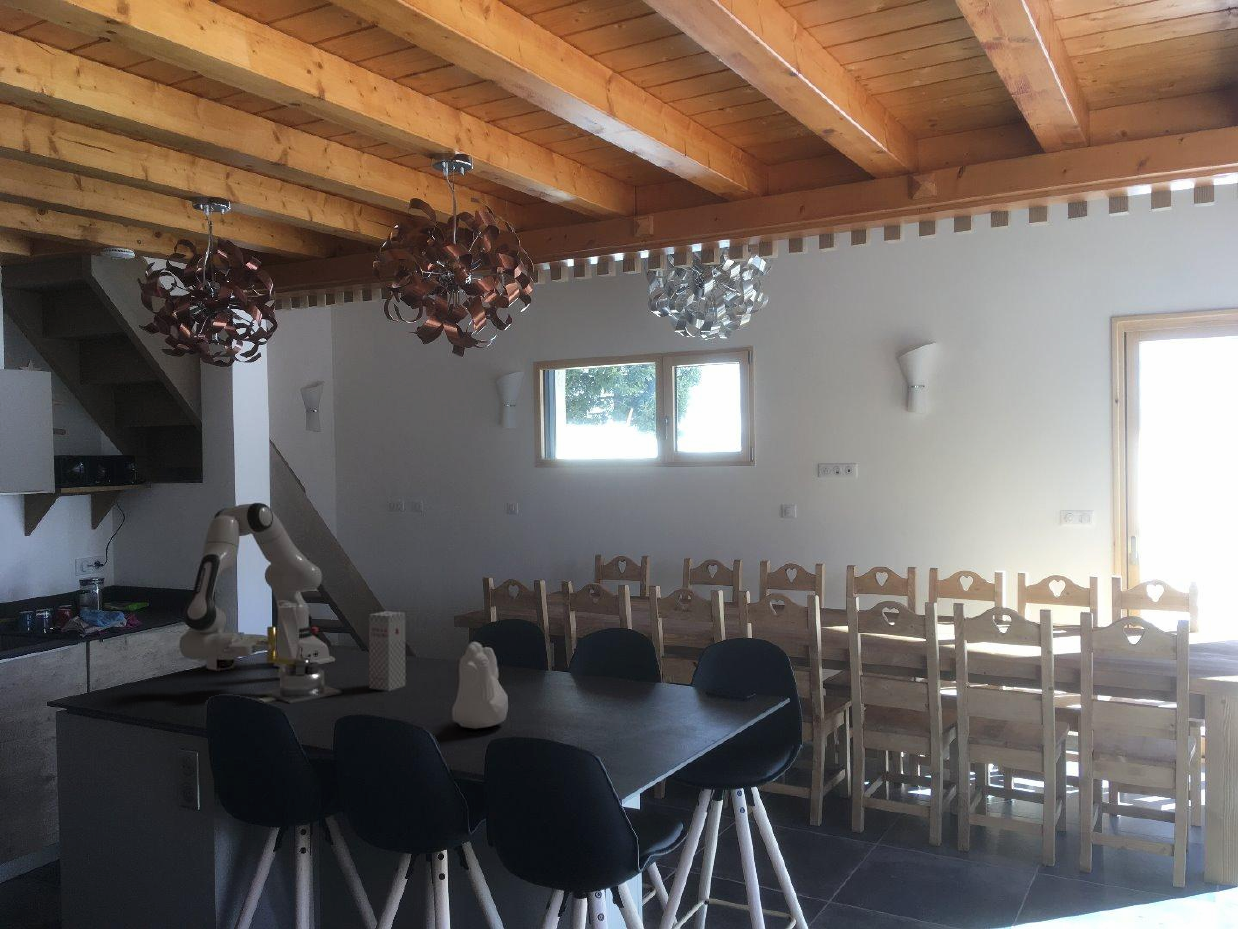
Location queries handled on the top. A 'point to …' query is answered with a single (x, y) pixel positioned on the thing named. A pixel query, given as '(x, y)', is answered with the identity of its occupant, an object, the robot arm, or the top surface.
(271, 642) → the crank handle
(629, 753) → the top surface
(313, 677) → the metal pedestal base
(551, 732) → the top surface
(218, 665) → the medicine bottle
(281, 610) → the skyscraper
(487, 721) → the white figurine
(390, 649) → the box
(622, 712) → the top surface
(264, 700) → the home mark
